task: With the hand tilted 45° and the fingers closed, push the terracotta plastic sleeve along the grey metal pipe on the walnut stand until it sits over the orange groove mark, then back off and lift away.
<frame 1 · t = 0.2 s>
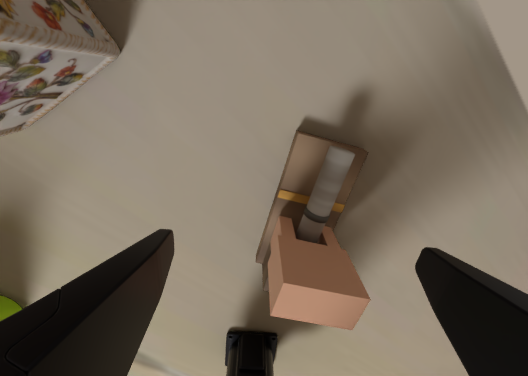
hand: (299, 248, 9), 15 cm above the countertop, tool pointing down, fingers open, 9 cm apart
decorative jar: (15, 23, 19), on the countertop
soap dispenser: (3, 308, 30), on the countertop
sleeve: (308, 264, 21), point 6 cm above the countertop, slide at 0.0 cm
pipe stand: (304, 206, 25), on the countertop
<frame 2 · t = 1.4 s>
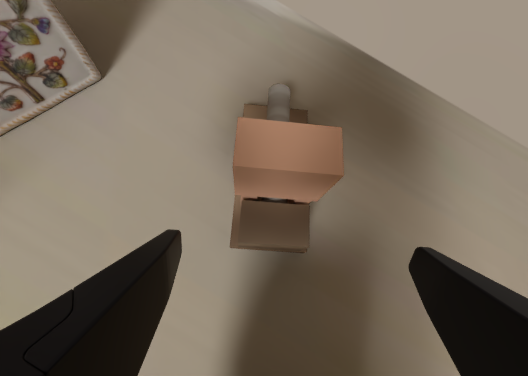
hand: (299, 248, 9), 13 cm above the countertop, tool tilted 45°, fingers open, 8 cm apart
decorative jar: (26, 73, 26), on the countertop
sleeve: (279, 174, 18), point 6 cm above the countertop, slide at 0.0 cm
pipe stand: (271, 175, 24), on the countertop
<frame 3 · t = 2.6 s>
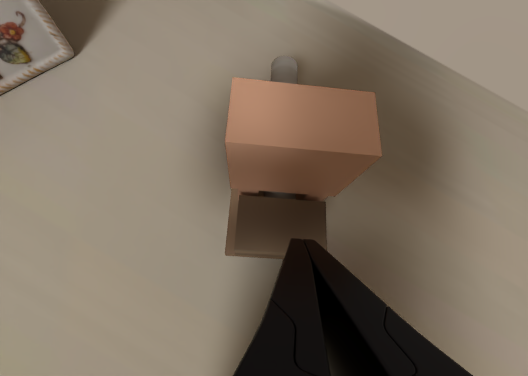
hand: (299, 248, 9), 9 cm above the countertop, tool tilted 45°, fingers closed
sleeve: (286, 161, 14), point 6 cm above the countertop, slide at 0.0 cm
pipe stand: (275, 168, 20), on the countertop
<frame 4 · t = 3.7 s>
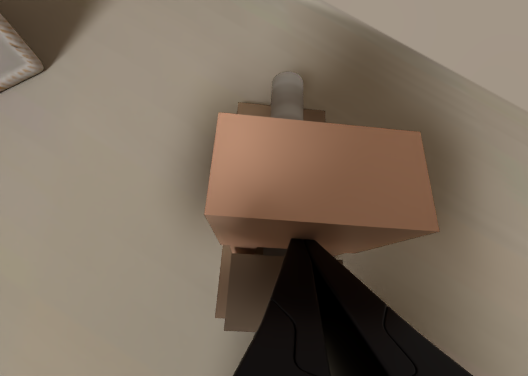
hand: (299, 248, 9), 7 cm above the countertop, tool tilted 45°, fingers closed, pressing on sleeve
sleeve: (293, 210, 11), point 6 cm above the countertop, slide at 0.0 cm, touching gripper
pipe stand: (276, 202, 17), on the countertop
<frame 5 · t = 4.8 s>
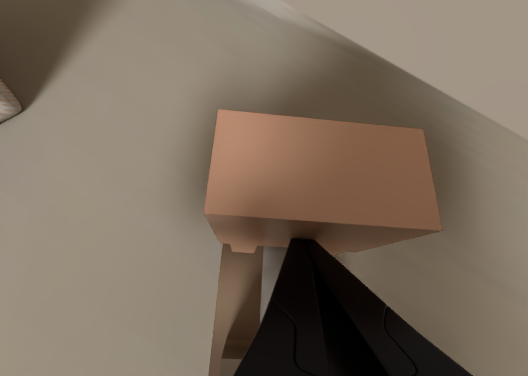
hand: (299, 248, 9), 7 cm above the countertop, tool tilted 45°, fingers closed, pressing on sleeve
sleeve: (293, 208, 11), point 6 cm above the countertop, slide at 4.0 cm, touching gripper
pipe stand: (274, 262, 16), on the countertop
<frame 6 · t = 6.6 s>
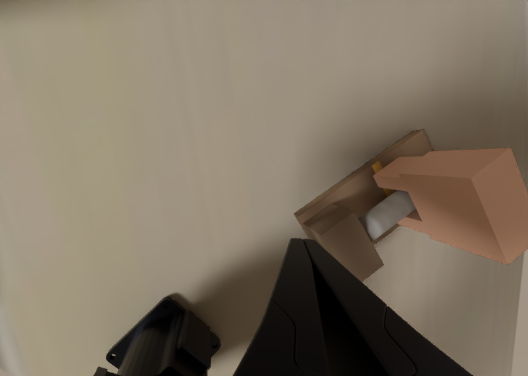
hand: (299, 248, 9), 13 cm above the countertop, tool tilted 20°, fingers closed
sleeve: (441, 197, 18), point 6 cm above the countertop, slide at 4.0 cm
pipe stand: (370, 199, 24), on the countertop
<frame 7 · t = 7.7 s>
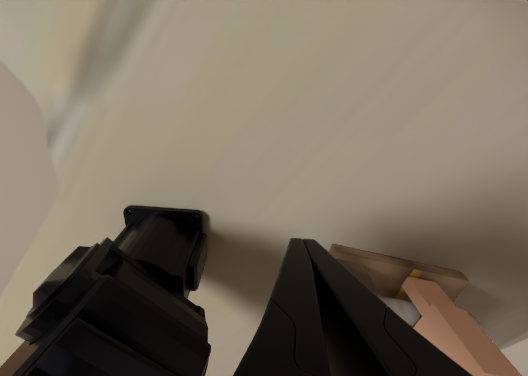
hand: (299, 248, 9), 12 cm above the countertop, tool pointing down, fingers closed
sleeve: (436, 341, 21), point 6 cm above the countertop, slide at 4.0 cm
pipe stand: (384, 282, 26), on the countertop
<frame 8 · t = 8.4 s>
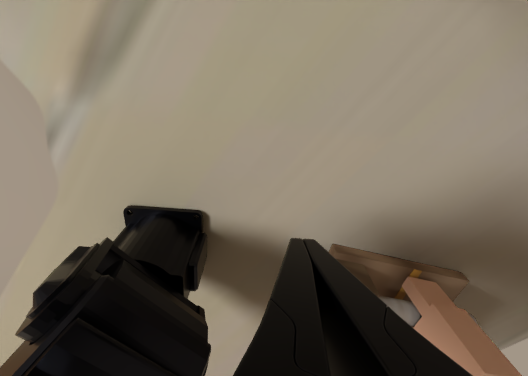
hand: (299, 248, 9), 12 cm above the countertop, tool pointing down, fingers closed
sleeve: (436, 341, 21), point 6 cm above the countertop, slide at 4.0 cm
pipe stand: (384, 282, 26), on the countertop
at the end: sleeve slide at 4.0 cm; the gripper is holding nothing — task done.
